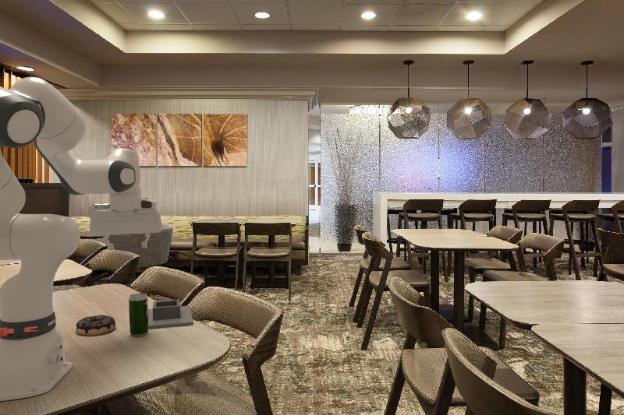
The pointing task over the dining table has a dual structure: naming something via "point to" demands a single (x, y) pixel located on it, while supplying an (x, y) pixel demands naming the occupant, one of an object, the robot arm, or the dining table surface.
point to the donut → (95, 325)
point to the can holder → (169, 314)
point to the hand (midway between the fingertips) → (127, 248)
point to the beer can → (138, 314)
